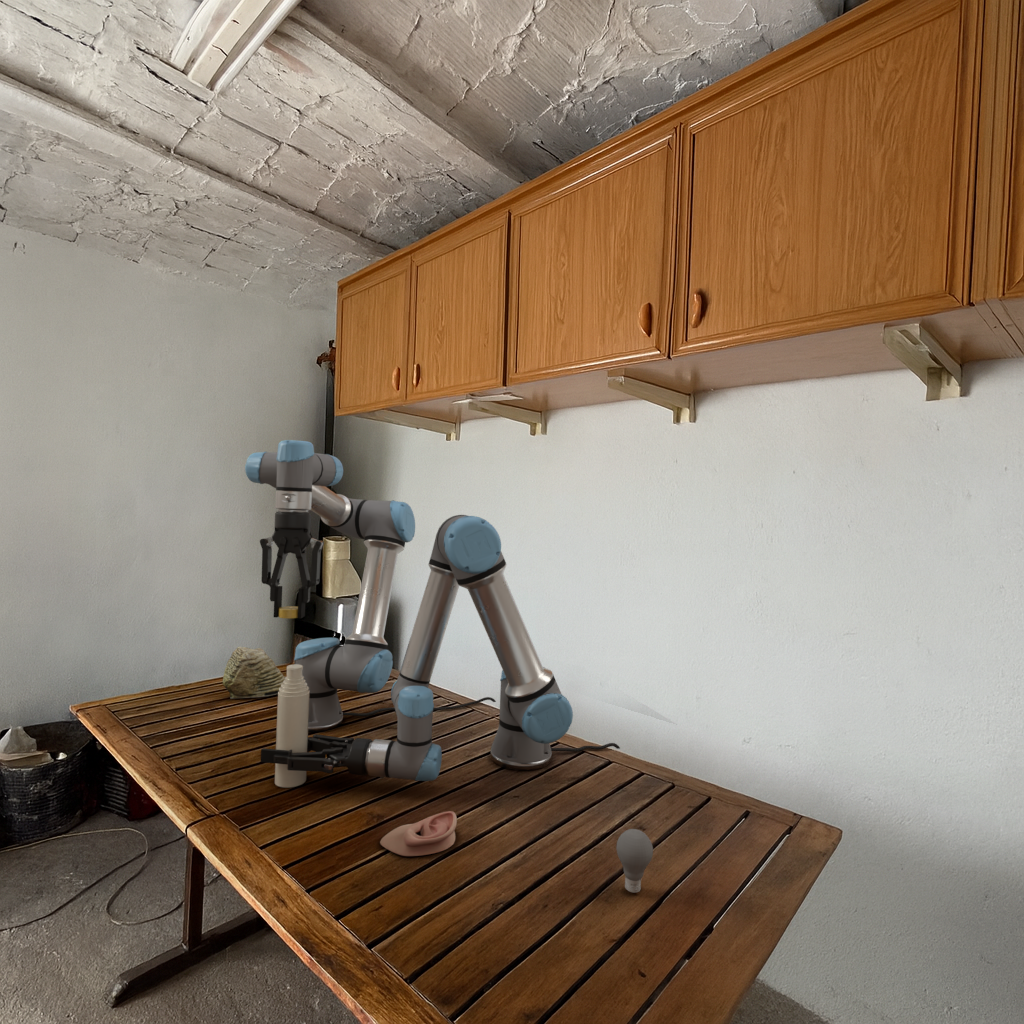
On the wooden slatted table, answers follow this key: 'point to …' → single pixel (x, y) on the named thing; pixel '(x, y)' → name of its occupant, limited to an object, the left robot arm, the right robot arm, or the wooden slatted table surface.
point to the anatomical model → (422, 836)
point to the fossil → (251, 674)
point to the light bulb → (634, 857)
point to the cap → (288, 612)
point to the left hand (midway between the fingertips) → (289, 616)
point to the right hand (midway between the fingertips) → (270, 748)
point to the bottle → (292, 724)
